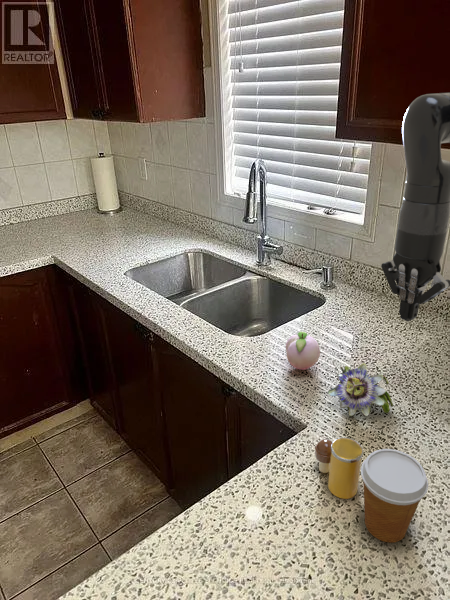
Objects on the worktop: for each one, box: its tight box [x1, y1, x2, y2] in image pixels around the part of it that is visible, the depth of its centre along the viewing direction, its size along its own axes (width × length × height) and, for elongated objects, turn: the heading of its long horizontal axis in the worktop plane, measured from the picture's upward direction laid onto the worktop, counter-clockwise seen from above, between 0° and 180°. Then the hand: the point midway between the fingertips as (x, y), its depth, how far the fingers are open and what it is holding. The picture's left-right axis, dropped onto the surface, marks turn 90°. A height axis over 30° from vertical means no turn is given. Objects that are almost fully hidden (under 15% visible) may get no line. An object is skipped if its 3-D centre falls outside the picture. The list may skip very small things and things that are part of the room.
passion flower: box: [327, 362, 394, 417], centre depth 97 cm, size 11×11×12 cm
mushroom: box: [314, 438, 333, 474], centre depth 81 cm, size 4×4×7 cm
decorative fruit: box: [285, 331, 321, 370], centre depth 109 cm, size 9×8×10 cm
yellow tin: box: [327, 437, 364, 500], centre depth 76 cm, size 5×5×9 cm
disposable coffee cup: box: [360, 448, 429, 544], centre depth 69 cm, size 10×10×12 cm
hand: (407, 318), depth 81 cm, fingers closed
